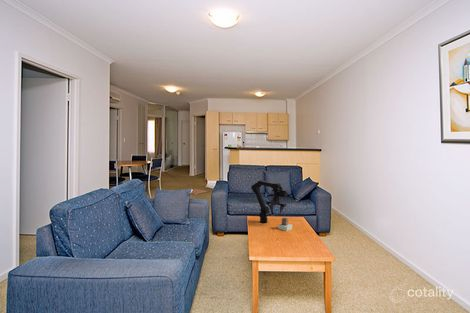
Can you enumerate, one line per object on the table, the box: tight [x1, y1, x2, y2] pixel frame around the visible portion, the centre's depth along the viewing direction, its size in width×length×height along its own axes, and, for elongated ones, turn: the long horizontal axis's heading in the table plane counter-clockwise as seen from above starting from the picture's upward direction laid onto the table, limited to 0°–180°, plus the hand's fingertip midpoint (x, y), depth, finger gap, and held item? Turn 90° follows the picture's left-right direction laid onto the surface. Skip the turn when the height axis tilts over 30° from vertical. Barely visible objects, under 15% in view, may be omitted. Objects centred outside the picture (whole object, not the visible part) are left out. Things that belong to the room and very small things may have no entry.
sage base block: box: [277, 223, 293, 232], centre depth 236 cm, size 9×9×4 cm
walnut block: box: [281, 216, 289, 226], centre depth 236 cm, size 4×4×6 cm
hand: (276, 212), depth 246 cm, fingers open, 9 cm apart
